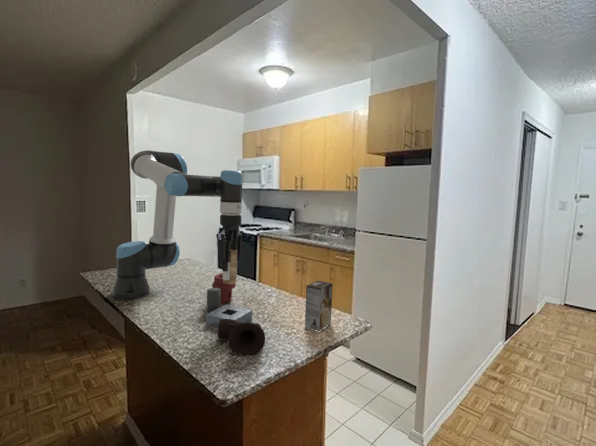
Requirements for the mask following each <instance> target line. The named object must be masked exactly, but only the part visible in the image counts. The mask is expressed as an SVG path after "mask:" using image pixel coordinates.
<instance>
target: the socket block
mask: <svg viewBox="0 0 596 446" xmlns="http://www.w3.org/2000/svg"><path fill="white" fill-rule="evenodd" d="M221 319H233V320H235V321H237V322H243V323H244V322H250V323H251V322H253V309H249V308H244V307H239V306H234V305H230V304H225V305H222V306H220V308H218V309H216V310H214V311H212V312H210V313H206V314H205V326H207V327H208V326H209V327H211V328H216V329H218V327H219V322H220V320H221Z"/></svg>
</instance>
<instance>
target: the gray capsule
mask: <svg viewBox="0 0 596 446" xmlns="http://www.w3.org/2000/svg"><path fill="white" fill-rule="evenodd" d="M206 290H207V291H206V314H208V313H210V312H212V311H214V310H216V309H218V308H220V307H221V304H220V299H221V289H219V288H213V287H211V288H207V289H206Z"/></svg>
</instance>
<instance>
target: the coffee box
mask: <svg viewBox="0 0 596 446" xmlns="http://www.w3.org/2000/svg"><path fill="white" fill-rule="evenodd" d="M305 287H306V289H305V311H304V313H305V315H304V317H305V320H304V329H306V328H308V329H307V330H309V329H313V330H317V331H320V330H322V329H323V328H324V327H326V326H327V325H329V324H330V323H331V324H332V307H333V304H332V302H333V282H329V281H322V280H316V281H314V282H312V283H309V284H307V285H306V286H305ZM329 326H330V325H329ZM326 328H327V327H326ZM313 330H312V331H313ZM322 331H323V330H322Z"/></svg>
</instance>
